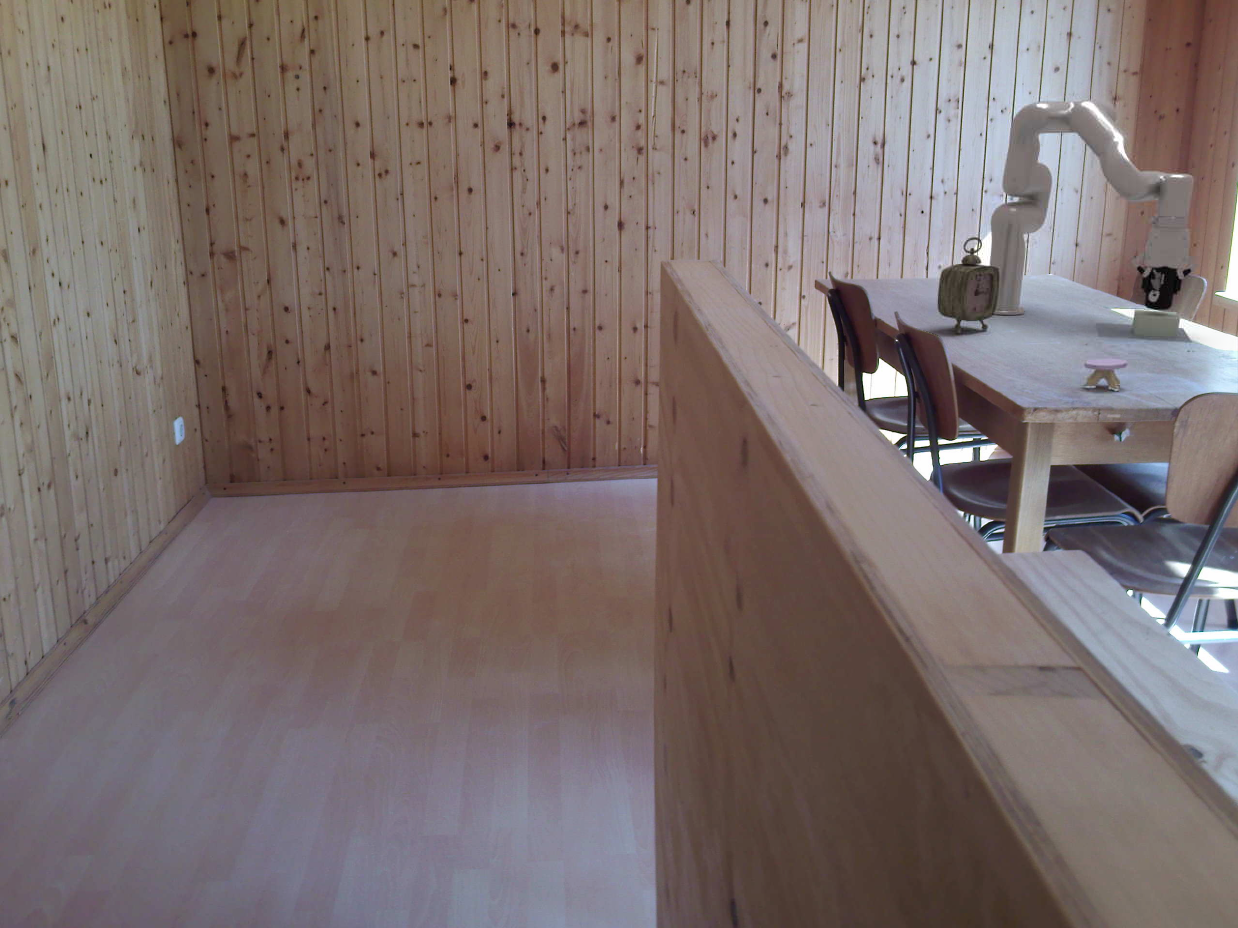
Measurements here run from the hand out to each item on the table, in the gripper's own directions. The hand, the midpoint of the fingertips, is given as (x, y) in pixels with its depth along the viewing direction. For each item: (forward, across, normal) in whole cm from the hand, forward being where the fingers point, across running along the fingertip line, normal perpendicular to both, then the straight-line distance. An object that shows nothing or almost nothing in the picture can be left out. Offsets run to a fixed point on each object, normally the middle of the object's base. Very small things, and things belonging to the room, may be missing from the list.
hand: (1160, 292), depth 294 cm
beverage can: (+4, 0, 0) cm, 4 cm away
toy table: (+12, -16, -64) cm, 67 cm away
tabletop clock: (+12, -48, -10) cm, 50 cm away
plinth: (+11, 0, 0) cm, 11 cm away
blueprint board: (+12, -3, 0) cm, 12 cm away
